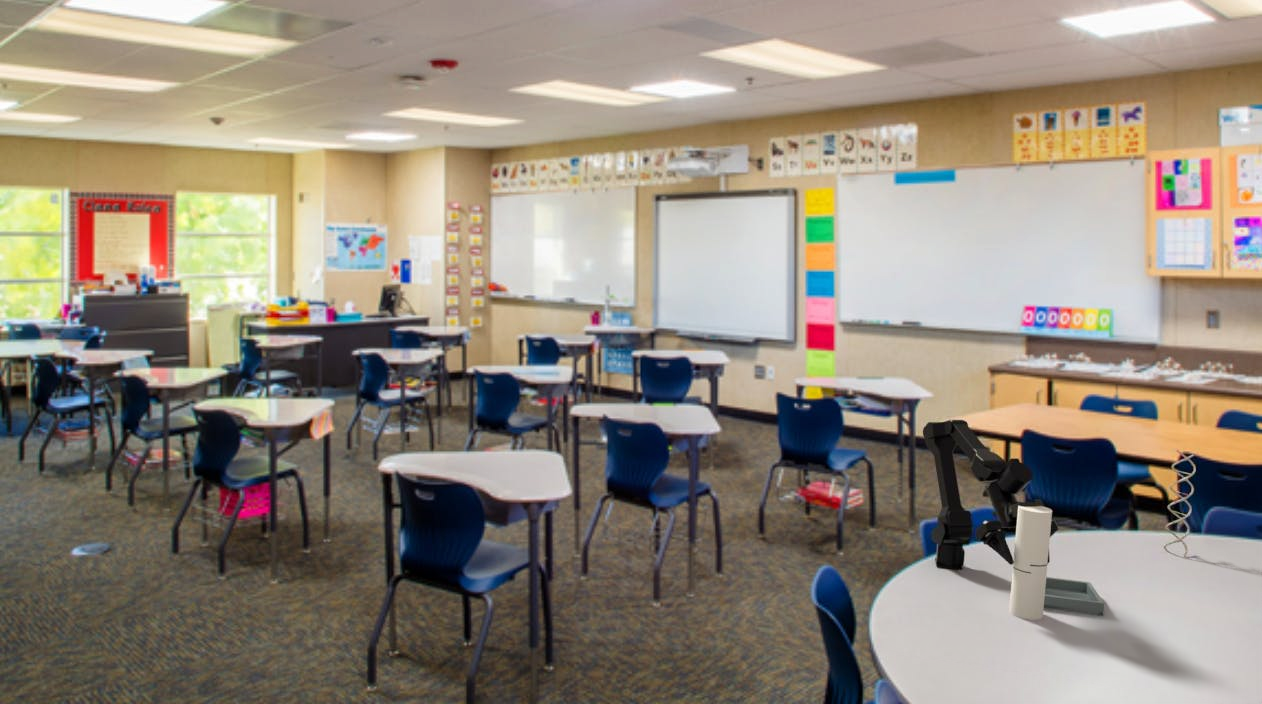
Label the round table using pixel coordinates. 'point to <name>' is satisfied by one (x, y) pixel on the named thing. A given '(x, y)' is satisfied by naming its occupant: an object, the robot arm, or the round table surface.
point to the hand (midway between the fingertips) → (1030, 563)
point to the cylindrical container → (1030, 562)
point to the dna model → (1180, 501)
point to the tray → (1072, 596)
